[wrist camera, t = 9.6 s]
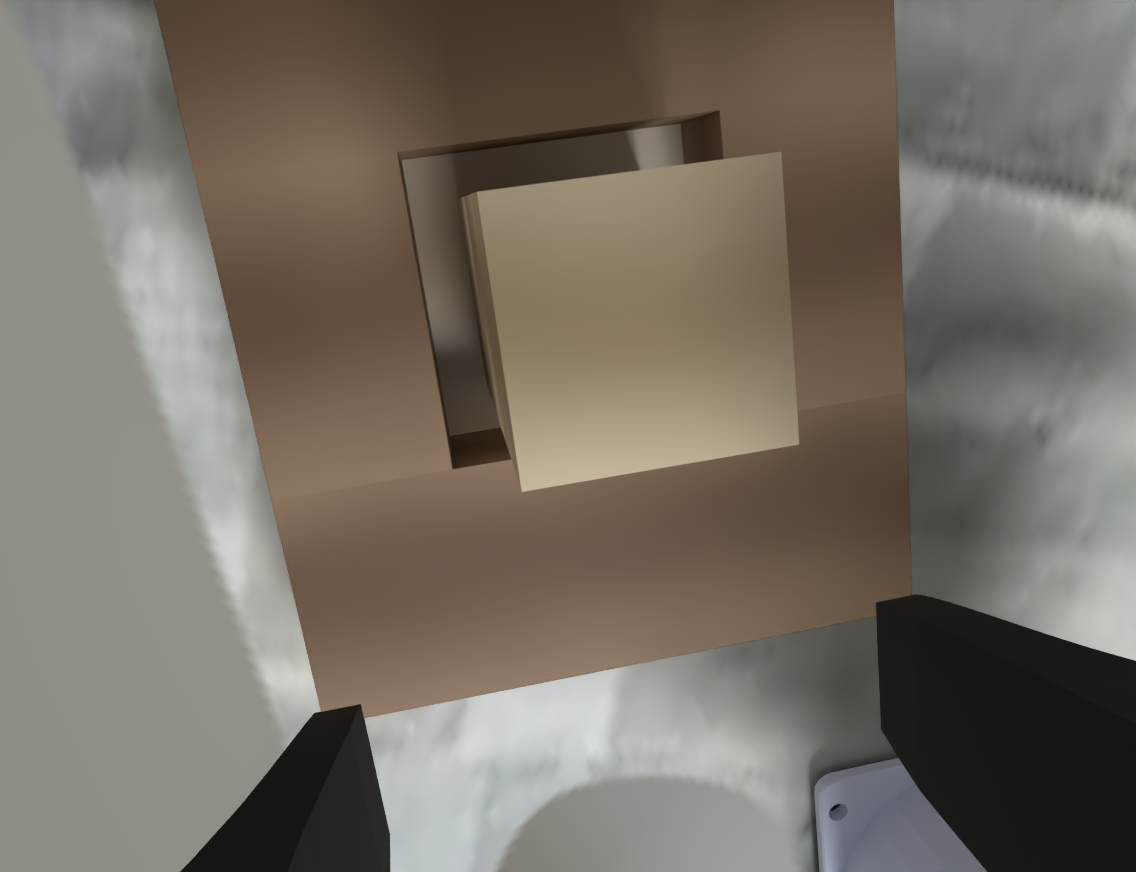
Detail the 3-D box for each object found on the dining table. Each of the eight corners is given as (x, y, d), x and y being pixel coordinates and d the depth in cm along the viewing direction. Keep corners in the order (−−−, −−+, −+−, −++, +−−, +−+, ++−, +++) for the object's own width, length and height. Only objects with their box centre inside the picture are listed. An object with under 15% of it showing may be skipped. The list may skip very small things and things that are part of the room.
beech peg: (659, 355, 20) (799, 445, 13) (486, 382, 20) (522, 492, 12) (641, 175, 19) (781, 151, 11) (457, 199, 19) (476, 191, 11)
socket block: (851, 558, 23) (912, 609, 20) (339, 656, 21) (324, 726, 18) (815, -149, 18) (886, -215, 15) (172, -86, 17) (119, -147, 14)
